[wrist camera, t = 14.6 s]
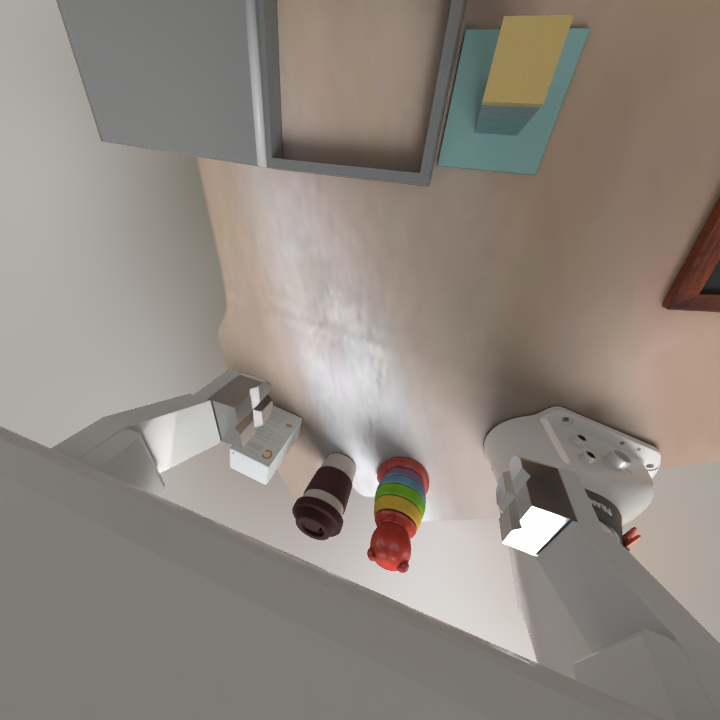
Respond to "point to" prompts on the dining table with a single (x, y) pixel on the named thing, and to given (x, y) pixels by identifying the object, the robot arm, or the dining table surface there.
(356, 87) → the dining table surface
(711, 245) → the picture frame
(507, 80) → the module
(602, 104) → the dining table surface
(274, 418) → the small box
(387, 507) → the stacking bear
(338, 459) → the coffee cup
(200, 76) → the case
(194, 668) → the robot arm
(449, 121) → the pad
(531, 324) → the dining table surface
